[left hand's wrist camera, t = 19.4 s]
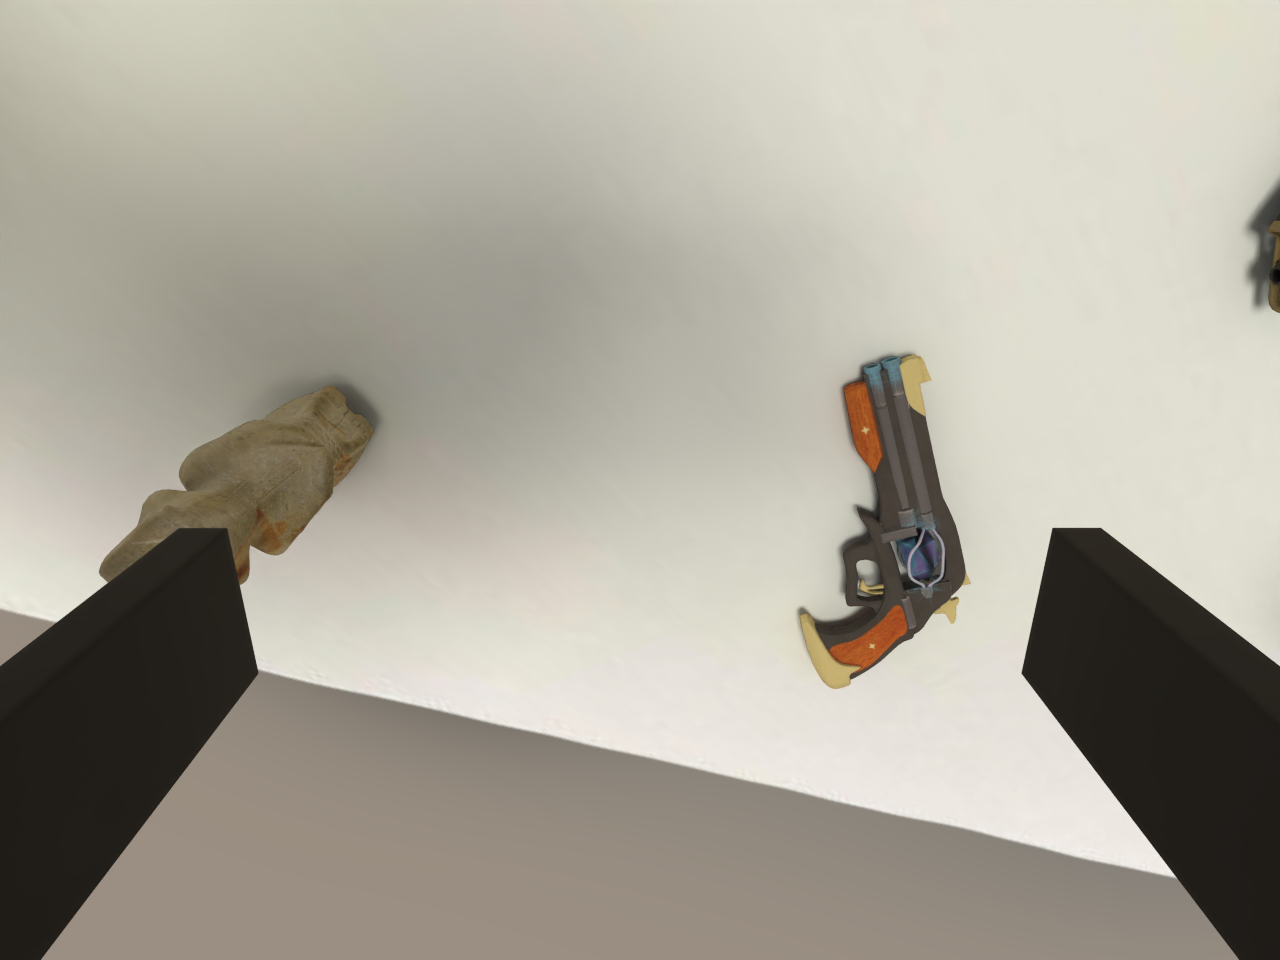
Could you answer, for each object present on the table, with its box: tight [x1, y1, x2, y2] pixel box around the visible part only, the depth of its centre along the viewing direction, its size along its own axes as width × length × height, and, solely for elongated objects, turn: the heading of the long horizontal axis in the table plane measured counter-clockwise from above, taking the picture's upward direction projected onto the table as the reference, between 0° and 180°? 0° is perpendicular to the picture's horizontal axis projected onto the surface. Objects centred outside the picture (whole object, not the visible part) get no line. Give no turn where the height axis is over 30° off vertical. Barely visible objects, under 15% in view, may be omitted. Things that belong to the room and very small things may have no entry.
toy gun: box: [800, 355, 970, 689], centre depth 45 cm, size 3×19×10 cm
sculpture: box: [99, 385, 373, 585], centre depth 36 cm, size 6×7×15 cm
